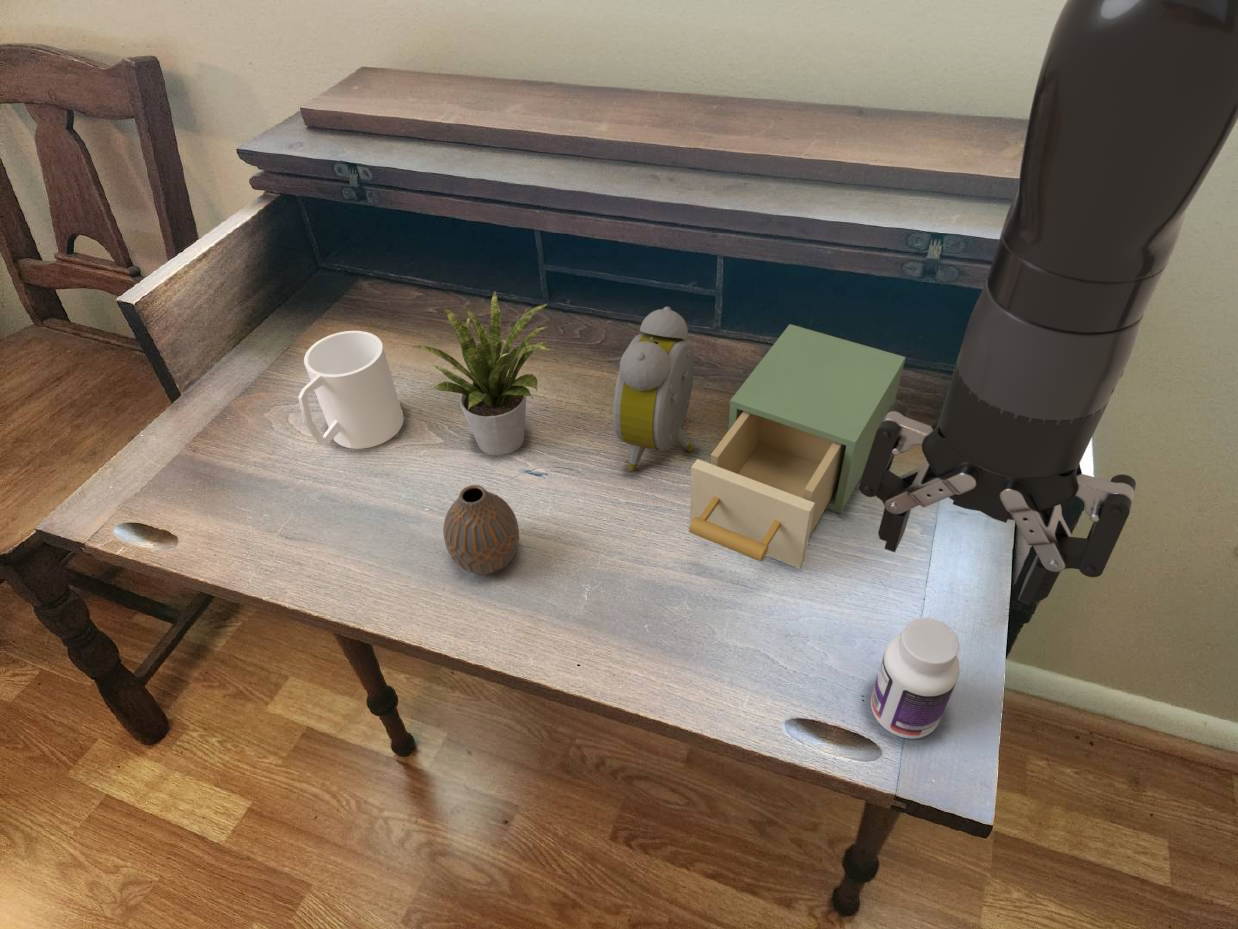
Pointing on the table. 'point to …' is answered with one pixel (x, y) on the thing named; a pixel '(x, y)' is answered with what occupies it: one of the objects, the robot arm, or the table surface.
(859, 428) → the cabinet
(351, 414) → the cup
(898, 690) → the pill bottle
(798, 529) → the drawer
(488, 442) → the house plant
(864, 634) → the table surface
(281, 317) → the table surface
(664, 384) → the alarm clock
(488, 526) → the vase
